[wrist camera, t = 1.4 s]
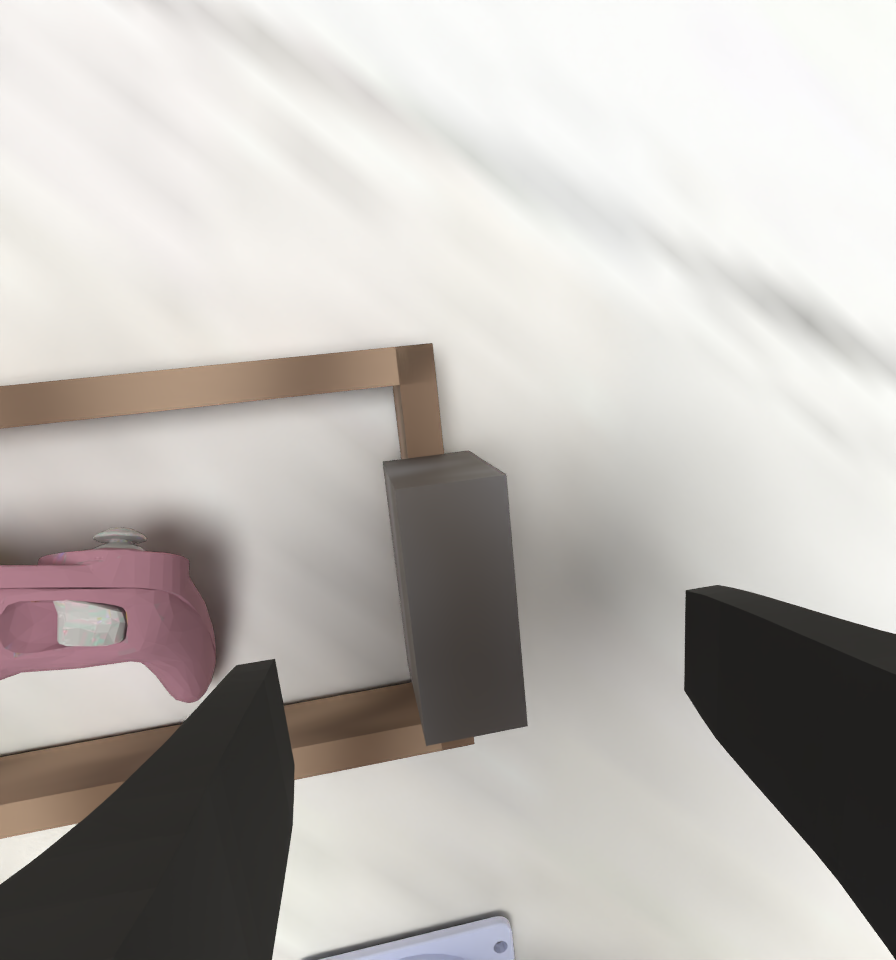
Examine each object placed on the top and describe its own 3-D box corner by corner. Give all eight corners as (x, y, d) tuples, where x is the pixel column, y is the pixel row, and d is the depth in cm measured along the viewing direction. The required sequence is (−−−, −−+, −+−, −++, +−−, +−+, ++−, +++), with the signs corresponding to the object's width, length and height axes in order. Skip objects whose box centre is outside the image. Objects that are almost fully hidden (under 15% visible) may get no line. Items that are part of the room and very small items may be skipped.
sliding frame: (443, 344, 19) (493, 331, 12) (478, 697, 21) (537, 837, 15) (-307, 419, 16) (-738, 452, 10) (-169, 818, 18) (-442, 1057, 12)
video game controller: (230, 555, 21) (174, 505, 14) (225, 698, 19) (160, 718, 13) (-102, 567, 19) (-345, 517, 12) (-131, 724, 18) (-419, 763, 11)
